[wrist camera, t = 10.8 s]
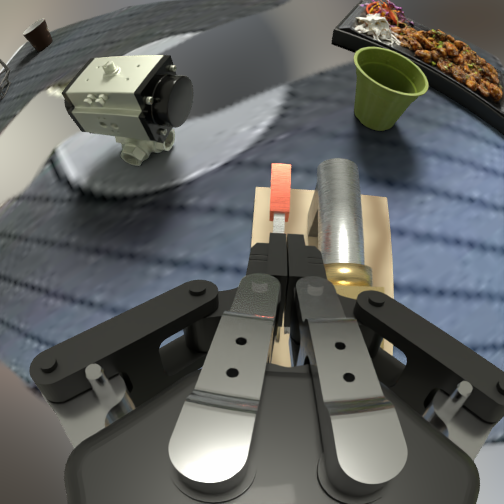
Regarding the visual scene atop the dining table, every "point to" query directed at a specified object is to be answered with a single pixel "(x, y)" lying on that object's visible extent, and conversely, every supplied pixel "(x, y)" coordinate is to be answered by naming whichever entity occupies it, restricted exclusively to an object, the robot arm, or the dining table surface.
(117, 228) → the dining table surface
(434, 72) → the food platter
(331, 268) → the valve body
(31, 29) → the coffee mug
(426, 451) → the robot arm
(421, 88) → the plant pot
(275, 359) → the mounting board
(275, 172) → the valve lever
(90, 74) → the ball valve
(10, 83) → the geometric lantern
